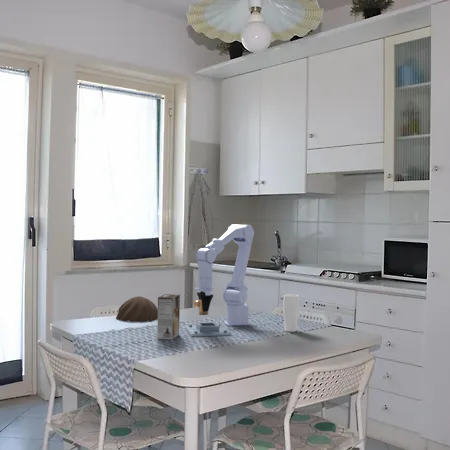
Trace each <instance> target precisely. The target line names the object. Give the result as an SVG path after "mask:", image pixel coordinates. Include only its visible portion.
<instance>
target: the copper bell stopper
mask: <svg viewBox="0 0 450 450" xmlns="http://www.w3.org/2000/svg"><path fill="white" fill-rule="evenodd" d="M193 307H194V308H198V315H199V316H207V315H209V311H208V312H203V309H202V302H201V299H199V298H198V300H193Z"/></svg>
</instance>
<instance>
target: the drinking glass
mask: <svg viewBox="0 0 450 450" xmlns="http://www.w3.org/2000/svg"><path fill="white" fill-rule="evenodd" d="M300 299H301V298H300V295H299V294H297V293H296V294H293V293H287V294H283V299H282V301H283V303H282V304H283V305H282V307H283V322H284V331H285V332H289V333H293V332H297V331H298V321H299V312H300V302H301V301H300Z"/></svg>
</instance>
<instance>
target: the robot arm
mask: <svg viewBox="0 0 450 450" xmlns="http://www.w3.org/2000/svg"><path fill="white" fill-rule="evenodd" d="M254 236H255V230H254V228H253V226H252V225H251V224H235V223H233V224H232V223H231V225H230V226H228V227H227V230H226V231H225V232H224V233H223V234H222V235H221V236H220V237H219V238H213V239H212V241H210V243H208V244H206V245H205V246H204V247H203V248H199V249H198V250H197V252H196V254H195V259H196V262H197V266H198V269H197V271H198V274H197V275H198V277H197V278H198V280H197V282H198V283H197V287H195V288H194V289H195V291H198V292H196V295H197V297H198V300H199V299H201V302H202V309H203V312H208V313H209V310H210V305H211V301H212V299H213V297H214V294H211V293H212V291H213V263H214V262H215V261H216V258H217V255H219V254H220V253H221V252H222V251H224V249H225V245H227V244H228V243H229V242H232V241H233V242H234V243H235V244H237V246H238V249H237V252H236V253H237V254H236V259H235V263H234V269H233V272H232V278H231V280H230V281H229V282H228V283H226V286H225V289H224V290H223V293H222V299H223V300H224V303H225V304H226V320H225V321H224V320H223V323H224V324H225V325H226V326H229V327H230V326H231V327H232V326H249V325H250V323H249V314H250V313H249V310H250V309H249V306H248V304H247V303H246V302H247V300H248V286H247V285H245V277H246V273H247V267H248V262H249V259H250V254H251V249H252V245H253V241H254V240H253V239H254Z"/></svg>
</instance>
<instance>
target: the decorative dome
mask: <svg viewBox="0 0 450 450" xmlns="http://www.w3.org/2000/svg"><path fill="white" fill-rule="evenodd" d="M115 319H116V320H120V321H122V322H132V323H137V322H149V321H156V320H157V321H158V306H156V304H155V303H154V302H153V301H151V299H148V298H146V297H143V296H134V297H131V298H129V299H128V300H126V301H124V302H123V303H122V304H121V305H120V306H119V308H118V312H117V315H116V317H115Z"/></svg>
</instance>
